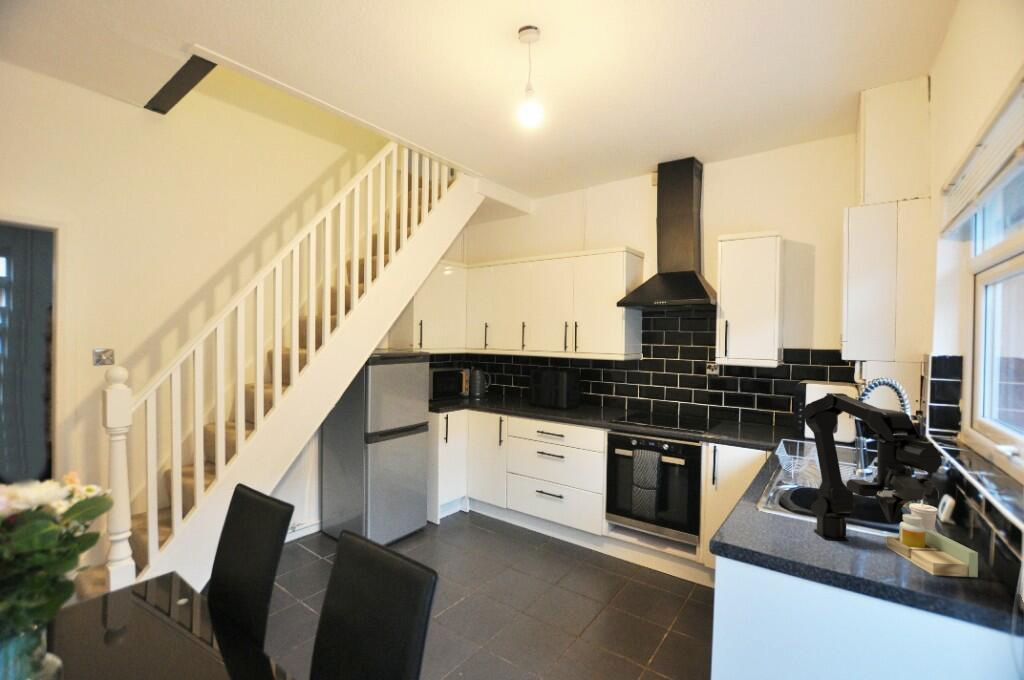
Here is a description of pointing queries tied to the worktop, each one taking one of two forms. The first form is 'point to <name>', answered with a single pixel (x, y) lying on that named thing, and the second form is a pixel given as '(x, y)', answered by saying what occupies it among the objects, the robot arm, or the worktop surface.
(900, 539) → the supplement bottle
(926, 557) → the wooden sliding lid box
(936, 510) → the smoothie
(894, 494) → the robot arm
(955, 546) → the backstop board
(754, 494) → the worktop surface
